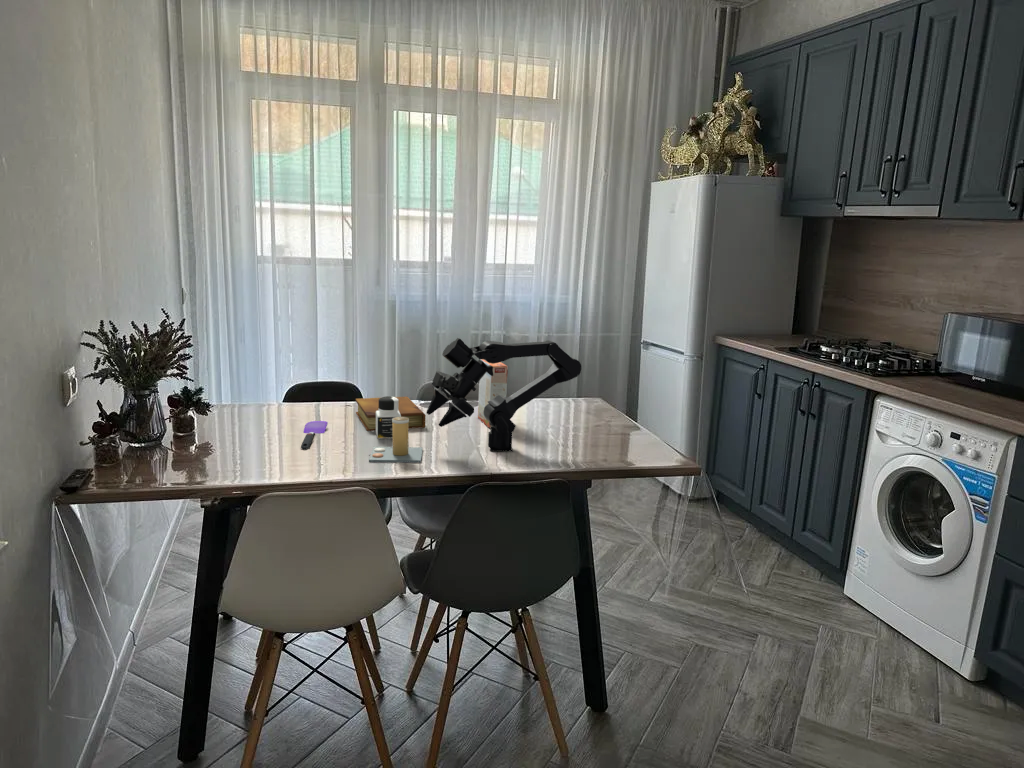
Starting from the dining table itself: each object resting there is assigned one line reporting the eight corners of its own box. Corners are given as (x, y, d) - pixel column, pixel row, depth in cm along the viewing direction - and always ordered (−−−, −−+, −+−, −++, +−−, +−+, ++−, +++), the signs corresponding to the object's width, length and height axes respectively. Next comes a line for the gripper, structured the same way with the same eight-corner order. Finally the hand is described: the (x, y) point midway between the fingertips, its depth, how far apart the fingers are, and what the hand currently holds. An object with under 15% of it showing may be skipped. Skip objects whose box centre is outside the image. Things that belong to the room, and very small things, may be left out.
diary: (425, 429, 227) (425, 412, 225) (367, 433, 220) (367, 415, 219) (409, 411, 248) (409, 395, 246) (355, 414, 241) (355, 398, 240)
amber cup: (411, 452, 199) (411, 417, 197) (404, 456, 194) (404, 421, 192) (396, 450, 200) (396, 416, 198) (389, 454, 195) (389, 420, 193)
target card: (422, 449, 204) (422, 446, 203) (420, 462, 192) (420, 459, 192) (373, 448, 202) (373, 445, 202) (369, 461, 191) (369, 458, 190)
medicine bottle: (377, 439, 212) (377, 400, 209) (375, 432, 219) (375, 395, 216) (401, 438, 214) (401, 400, 211) (398, 431, 221) (398, 394, 218)
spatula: (315, 451, 199) (315, 443, 199) (291, 451, 198) (291, 442, 198) (328, 428, 222) (328, 420, 222) (306, 428, 222) (306, 420, 221)
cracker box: (506, 428, 230) (508, 365, 226) (488, 428, 228) (490, 365, 224) (494, 417, 243) (496, 358, 239) (477, 417, 241) (479, 358, 237)
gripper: (437, 352, 203) (402, 393, 202) (463, 372, 188) (426, 417, 187) (462, 373, 209) (428, 413, 208) (489, 395, 194) (453, 438, 193)
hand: (433, 419), depth 199 cm, fingers open, 9 cm apart
